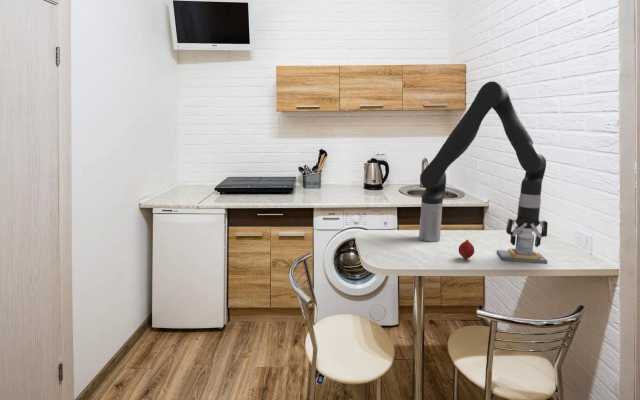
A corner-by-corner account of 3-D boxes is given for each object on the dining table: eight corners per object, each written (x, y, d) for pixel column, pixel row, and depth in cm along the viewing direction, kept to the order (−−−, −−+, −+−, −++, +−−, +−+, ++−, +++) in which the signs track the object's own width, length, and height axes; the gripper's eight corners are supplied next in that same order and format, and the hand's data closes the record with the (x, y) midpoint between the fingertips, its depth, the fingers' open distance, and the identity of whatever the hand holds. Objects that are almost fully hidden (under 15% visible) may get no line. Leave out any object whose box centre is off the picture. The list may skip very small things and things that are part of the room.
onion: (455, 257, 159) (456, 237, 157) (469, 256, 159) (471, 237, 158) (461, 261, 153) (463, 241, 152) (476, 261, 154) (477, 241, 152)
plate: (502, 260, 156) (502, 254, 155) (496, 252, 166) (497, 247, 165) (547, 263, 153) (547, 257, 152) (538, 255, 162) (539, 249, 162)
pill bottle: (518, 251, 163) (521, 225, 161) (534, 255, 159) (537, 227, 157) (512, 254, 159) (515, 227, 157) (528, 258, 155) (531, 230, 153)
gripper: (512, 206, 153) (507, 247, 156) (552, 208, 150) (547, 249, 153) (507, 202, 160) (503, 241, 163) (545, 204, 158) (541, 244, 160)
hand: (524, 245), depth 158 cm, fingers open, 8 cm apart
